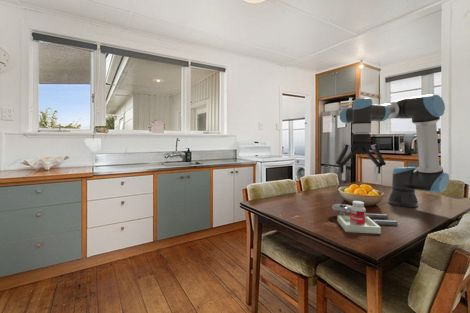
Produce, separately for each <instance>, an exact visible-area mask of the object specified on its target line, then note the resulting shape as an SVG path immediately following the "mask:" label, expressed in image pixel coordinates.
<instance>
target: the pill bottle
mask: <svg viewBox="0 0 470 313" xmlns="http://www.w3.org/2000/svg"><path fill="white" fill-rule="evenodd" d="M350 206H351V211H350V213H349V216H350V225H359V226H365V215H366V213H367V212H366V211H367V210H366V208H365V202H363V201H361V200H353V201H352V205H350Z"/></svg>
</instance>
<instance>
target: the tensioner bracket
mask: <svg viewBox="0 0 470 313" xmlns="http://www.w3.org/2000/svg"><path fill="white" fill-rule="evenodd" d="M365 217H369V218H370V219H372V220H373V221H374V222H375V223H376V224H377V225H379V226H394V227H396V226H397V227H398V223H399V222H398V220H388V219H389V218H388V217H389V216H388V214H385V213H367V212H366V214H365ZM383 219H384V220H383Z"/></svg>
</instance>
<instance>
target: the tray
mask: <svg viewBox="0 0 470 313" xmlns="http://www.w3.org/2000/svg"><path fill="white" fill-rule="evenodd" d="M336 218H337V222H338V224H339V225H340V226H341V227H342V229H343V230H344V232H346V233H360V234H361V233H362V234H363V233H364V234H374V235H375V234H379V235H381V233H382V227H381V225H377V224H376V223H375V222H374V221H373V220H374V219H372V218H369V217H365V226H359V225H350V215H345V216H343V215H340V214H339V215H337V217H336Z"/></svg>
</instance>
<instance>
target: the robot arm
mask: <svg viewBox="0 0 470 313" xmlns="http://www.w3.org/2000/svg"><path fill="white" fill-rule="evenodd" d="M445 109H446V106H445V102H444V99H443V98H442V97H441V96H440V95H439V94H424V95H417V96H412V97H411V96H410V97H404V98H401V99H400V98H399V99H397V100H392V101H388V102H386V103H383V104H373V99H372V98H371V97H361V98H356V99H354V100H353V102H352V107H347V108H344V109H343V108H342V109H341V110H340V112H339V120H340V121H341V123H344V124H351V128H352V129H351V133H352V135H351V144H346V143H345V144H343V149H342V151H341V153H340V154H339V156H338V158H337V159H336V162H335V164H336V165H338V166H339V173H340V174H341V181H346V174H347V173H346V170H347V169H346V168H347V167H346V164H347V163H348V162H349V161H350V160H351V159H352V158H353V156H355V155H366V156H367V157H368V159H369V160H371V161H372V163H373V164H374V166H373V176H372V177H373V178H372V179H373V182H379V180H378V179H379V174H381V168H382V166H386V162H385V160H384V157H383V156H382V153H381V152H380V150H379V144H376V143H375V144H371V140H372V138H371V137H372V136H371V134H370V133H371V132H372V122H383V121H384V122H385V121H387V120H388V119H391V120H392V119H399V120H400V119H401V120H402V119H405V120H406V119H408V120H410V119H411V123H412V124H414V126H415V130H416V142H417V143H416V144H417V153H418V154H417V155H418V165H419V166H417V167H416V166H399V167H394V168H393V170H392V177H391V178H392V180H391V181H392V183H391V192H390V193H389V196H388V198H387V203H388V204H390V205H393V206H397V207H405V208H417V207H418V206H419V200H418V198H417V195H416V190H418V191H422V192H428V193H433V194H434V193H436V194H440V193H441V194H442V193H443V192H444V191H445V190H446V189H447V188H448V185H449V182H450V176H449V174H448V173H447V172H444V168H443V166H441V165H440V160H439V158H440V157H439V143H438V131H437V130H438V129H437V123H438V122H439V121H440V119H441V117H443V115H444V114H445ZM350 149H351V151H350V152H349V154H347V155H346V153H347V152H348V150H350ZM371 149H372V150H373V153H374V154H375V156H376V157H375V156H374V155H373V154H372V152H371V151H370V150H371ZM345 155H346V156H345Z"/></svg>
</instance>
